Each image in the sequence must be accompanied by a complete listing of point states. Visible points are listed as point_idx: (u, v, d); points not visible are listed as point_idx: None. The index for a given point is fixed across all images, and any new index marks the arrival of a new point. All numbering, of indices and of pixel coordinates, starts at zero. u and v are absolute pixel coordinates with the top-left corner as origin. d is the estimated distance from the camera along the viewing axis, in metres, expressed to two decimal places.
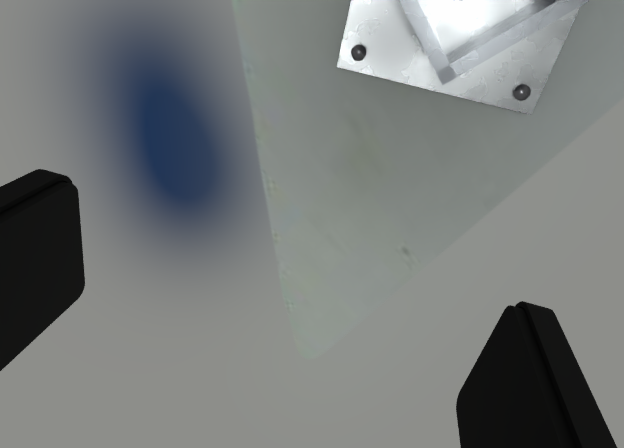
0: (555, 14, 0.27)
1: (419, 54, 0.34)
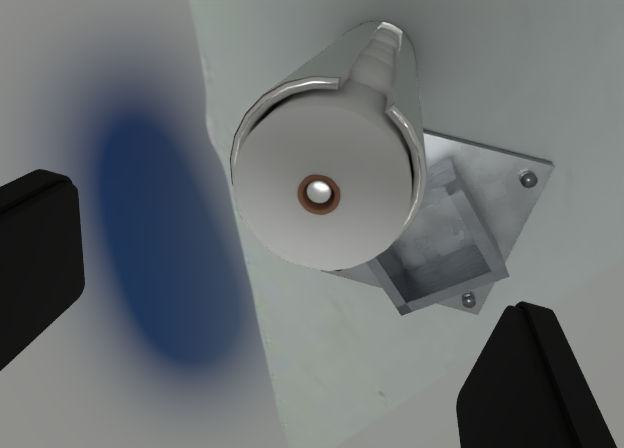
0: (484, 281, 0.35)
1: None
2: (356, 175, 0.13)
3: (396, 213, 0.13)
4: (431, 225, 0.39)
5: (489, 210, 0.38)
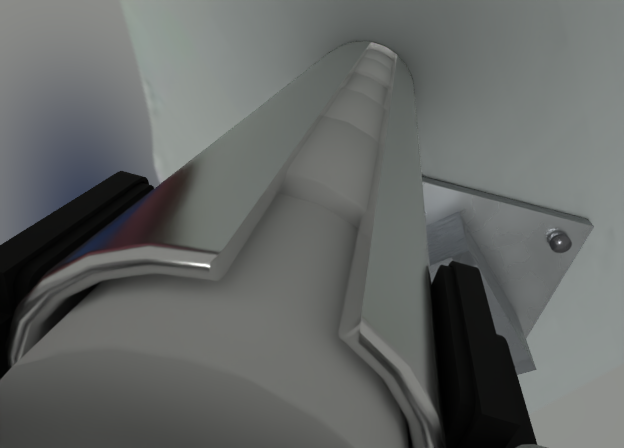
0: None
1: None
2: None
3: None
4: None
5: (508, 276, 0.30)
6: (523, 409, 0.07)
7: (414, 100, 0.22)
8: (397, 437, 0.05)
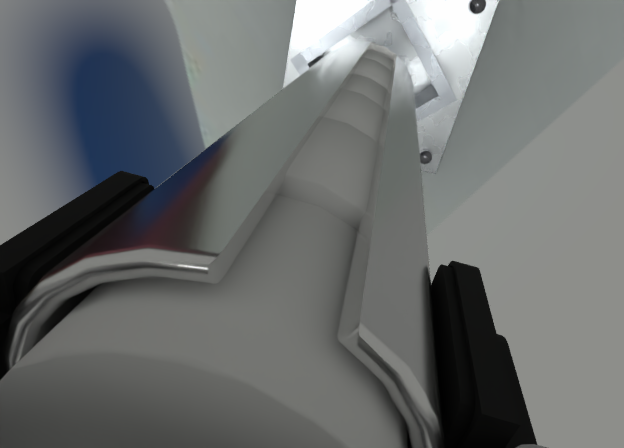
0: (432, 108, 0.34)
1: None
2: None
3: None
4: None
5: (440, 47, 0.37)
6: (523, 409, 0.07)
7: (414, 101, 0.22)
8: (396, 440, 0.05)
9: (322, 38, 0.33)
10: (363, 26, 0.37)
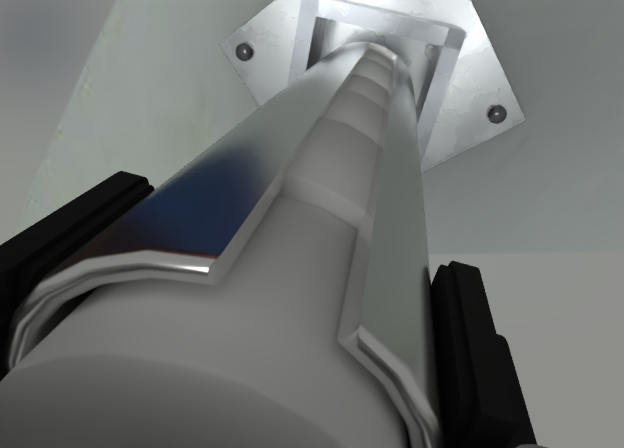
0: None
1: None
2: None
3: None
4: None
5: (437, 117, 0.32)
6: (522, 409, 0.07)
7: (414, 101, 0.22)
8: (396, 442, 0.05)
9: (353, 7, 0.25)
10: None
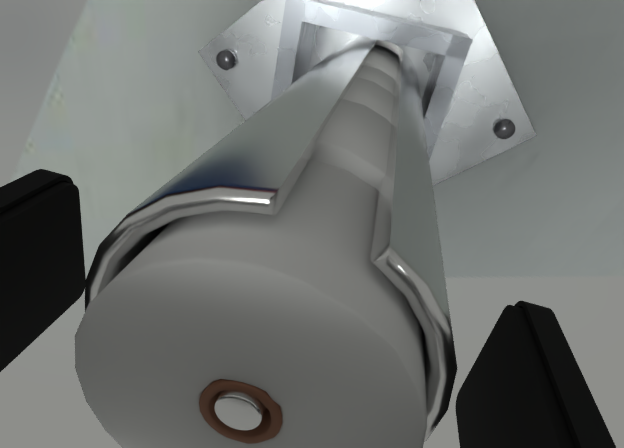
0: None
1: None
2: (312, 389, 0.06)
3: None
4: None
5: None
6: None
7: None
8: (417, 347, 0.06)
9: (344, 11, 0.22)
10: None
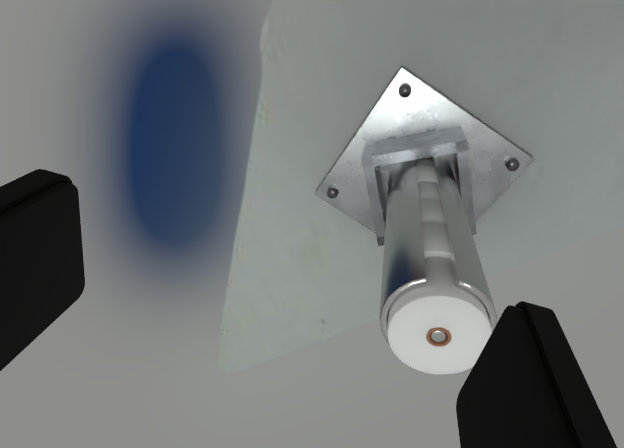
0: None
1: None
2: (455, 322, 0.24)
3: (485, 333, 0.23)
4: None
5: (473, 181, 0.45)
6: None
7: (451, 174, 0.40)
8: (478, 302, 0.24)
9: (394, 153, 0.40)
10: None
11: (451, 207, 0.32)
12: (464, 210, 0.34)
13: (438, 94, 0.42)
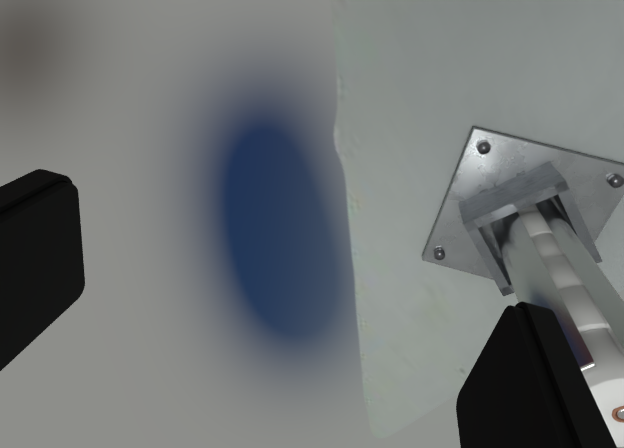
0: None
1: None
2: None
3: None
4: None
5: (578, 207, 0.45)
6: None
7: (558, 214, 0.40)
8: None
9: (494, 212, 0.41)
10: None
11: (579, 262, 0.32)
12: (590, 256, 0.35)
13: (518, 140, 0.43)
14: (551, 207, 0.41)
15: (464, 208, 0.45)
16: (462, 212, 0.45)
